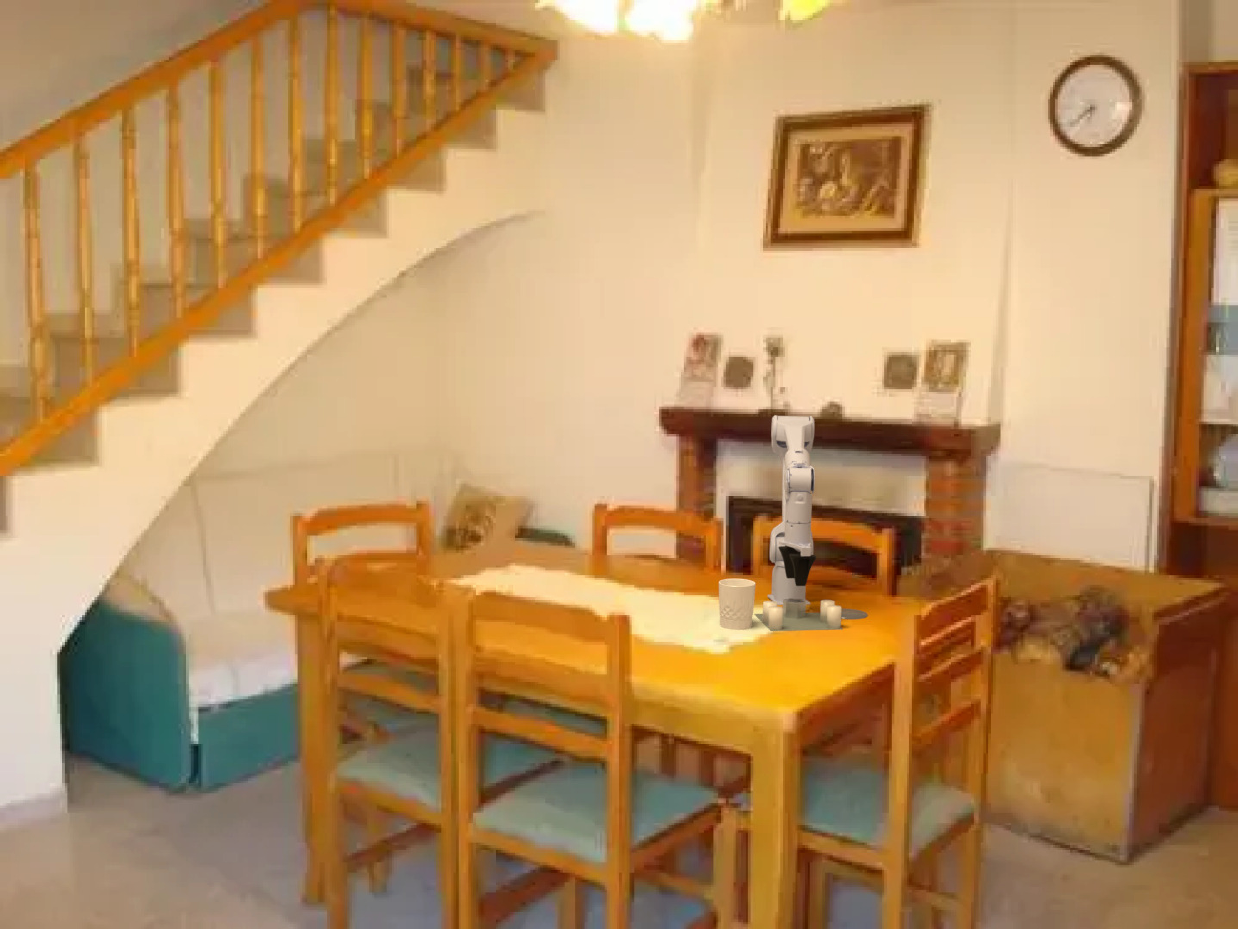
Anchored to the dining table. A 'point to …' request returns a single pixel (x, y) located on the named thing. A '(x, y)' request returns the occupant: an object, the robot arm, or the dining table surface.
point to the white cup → (736, 603)
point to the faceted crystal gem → (794, 608)
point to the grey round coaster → (852, 614)
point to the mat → (801, 623)
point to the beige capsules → (827, 614)
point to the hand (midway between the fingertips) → (795, 581)
